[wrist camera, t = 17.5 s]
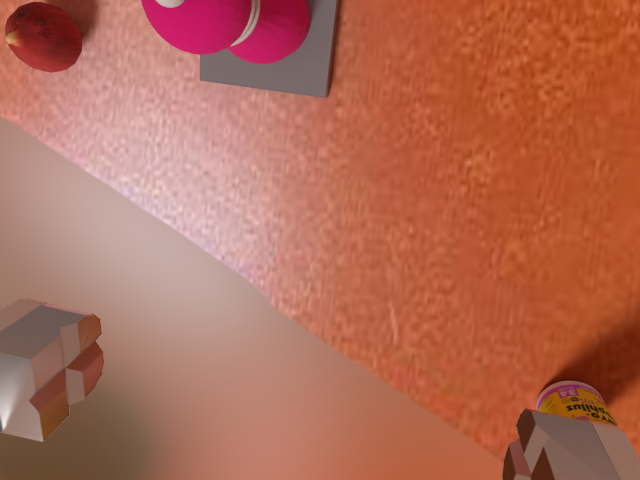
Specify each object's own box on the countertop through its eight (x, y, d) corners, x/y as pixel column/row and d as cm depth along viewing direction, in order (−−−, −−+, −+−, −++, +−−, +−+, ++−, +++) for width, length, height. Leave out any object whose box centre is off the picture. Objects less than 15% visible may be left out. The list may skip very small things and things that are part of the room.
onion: (46, 0, 44) (-26, -12, 37) (101, 15, 44) (39, 6, 37) (46, 62, 47) (-22, 63, 39) (98, 77, 46) (39, 80, 39)
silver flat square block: (345, -53, 38) (343, -57, 37) (328, 96, 43) (325, 97, 41) (209, -66, 40) (202, -71, 38) (206, 79, 44) (199, 80, 43)
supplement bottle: (613, 389, 48) (678, 496, 36) (583, 434, 51) (635, 547, 39) (550, 369, 49) (594, 467, 37) (524, 414, 51) (557, 520, 40)
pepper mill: (293, -46, 38) (181, -146, 19) (330, 40, 40) (259, 23, 21) (221, -2, 40) (60, -54, 22) (259, 78, 42) (140, 92, 24)
